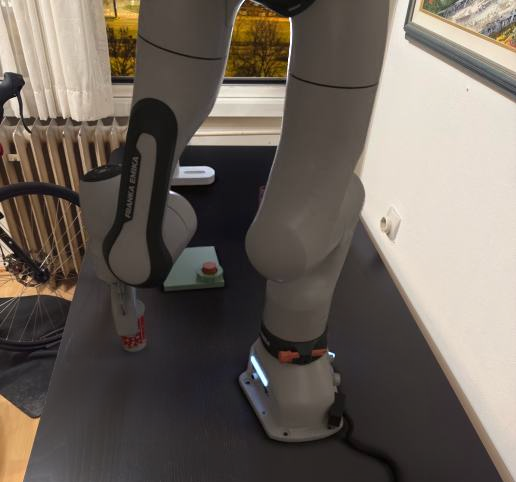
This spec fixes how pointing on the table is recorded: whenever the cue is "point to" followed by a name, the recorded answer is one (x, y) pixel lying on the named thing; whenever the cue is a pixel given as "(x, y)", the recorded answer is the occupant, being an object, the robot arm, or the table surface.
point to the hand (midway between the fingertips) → (130, 322)
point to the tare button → (209, 268)
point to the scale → (194, 270)
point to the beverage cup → (140, 338)
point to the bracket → (192, 175)
